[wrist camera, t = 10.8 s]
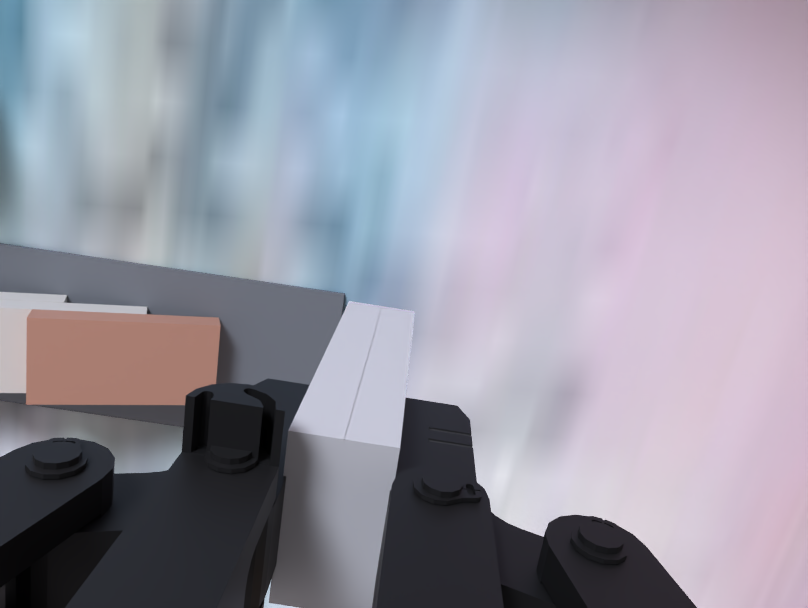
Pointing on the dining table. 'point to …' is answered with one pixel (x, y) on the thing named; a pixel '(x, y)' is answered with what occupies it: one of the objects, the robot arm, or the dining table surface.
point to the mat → (189, 296)
